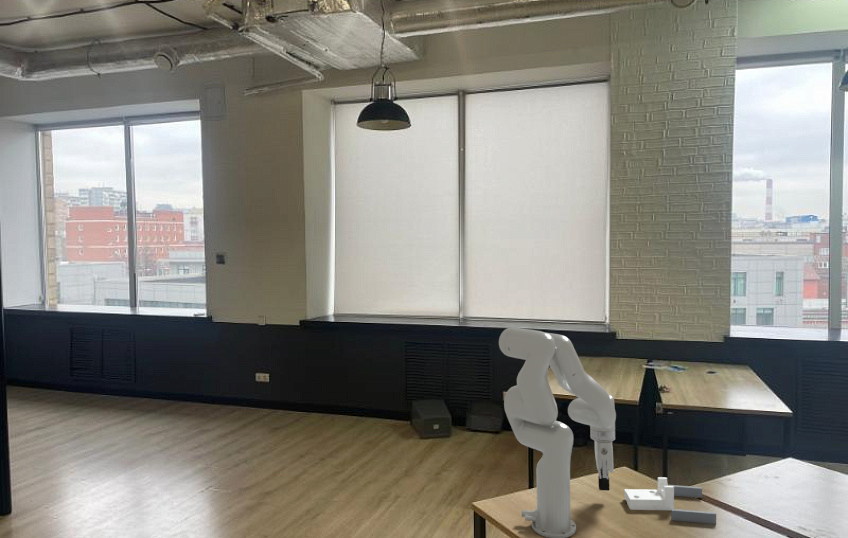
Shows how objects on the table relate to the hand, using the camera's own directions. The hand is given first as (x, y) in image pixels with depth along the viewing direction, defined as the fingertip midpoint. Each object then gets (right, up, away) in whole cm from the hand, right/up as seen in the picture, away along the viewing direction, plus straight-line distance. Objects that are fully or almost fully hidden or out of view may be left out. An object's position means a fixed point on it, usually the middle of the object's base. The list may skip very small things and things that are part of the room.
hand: (604, 489), depth 183 cm
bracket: (+13, -4, -3) cm, 14 cm away
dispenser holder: (+25, -3, -6) cm, 26 cm away
